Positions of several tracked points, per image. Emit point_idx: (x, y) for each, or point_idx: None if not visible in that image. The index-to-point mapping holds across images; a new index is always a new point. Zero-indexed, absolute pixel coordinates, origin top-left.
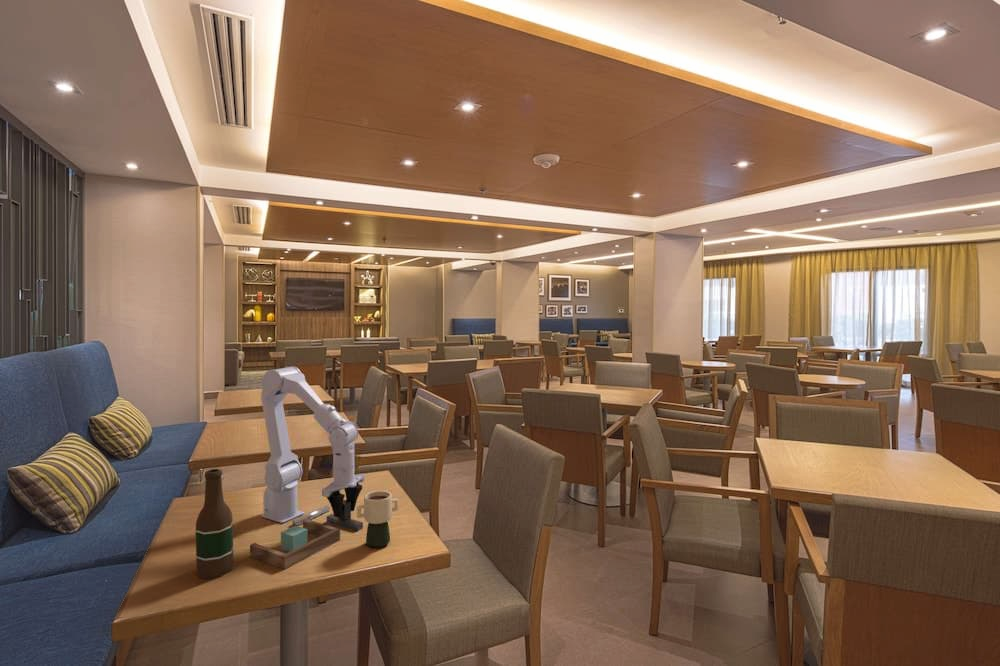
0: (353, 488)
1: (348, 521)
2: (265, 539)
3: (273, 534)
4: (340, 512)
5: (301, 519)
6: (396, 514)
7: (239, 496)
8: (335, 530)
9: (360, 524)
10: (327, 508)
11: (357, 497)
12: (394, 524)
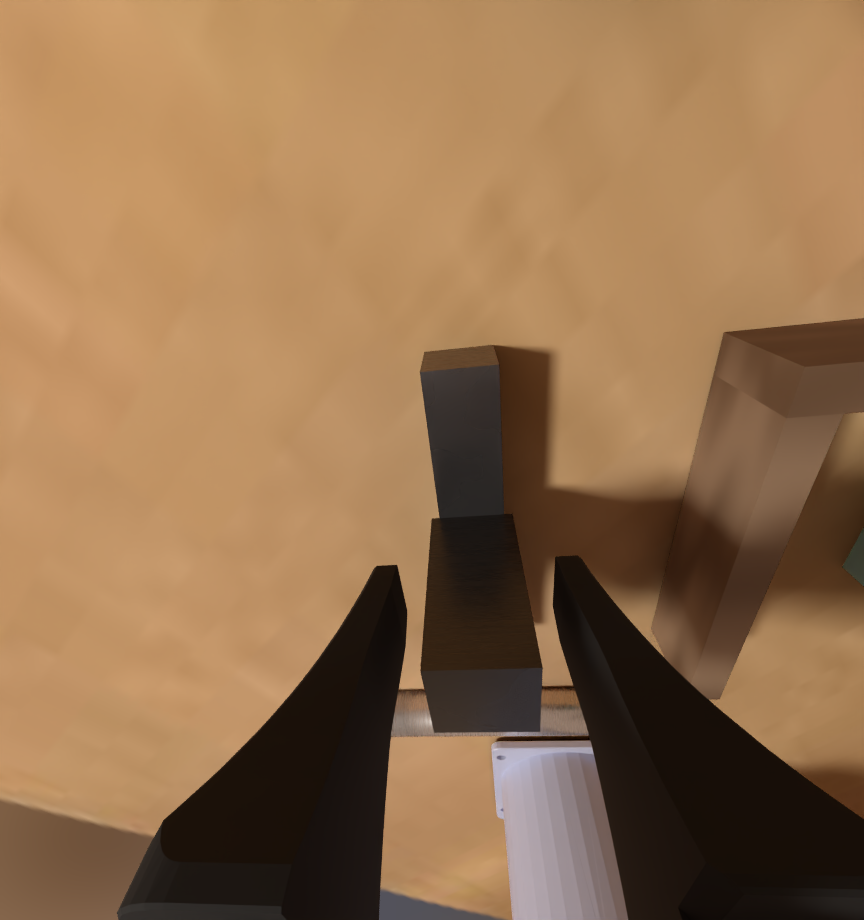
0: (324, 902)
1: (488, 492)
2: (840, 688)
3: (767, 697)
4: (596, 592)
5: None
6: (11, 328)
7: (509, 899)
8: (861, 377)
9: (457, 364)
10: (401, 713)
11: (307, 682)
12: (120, 126)
